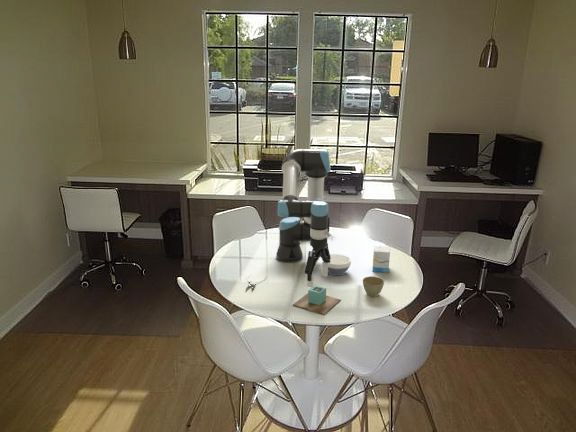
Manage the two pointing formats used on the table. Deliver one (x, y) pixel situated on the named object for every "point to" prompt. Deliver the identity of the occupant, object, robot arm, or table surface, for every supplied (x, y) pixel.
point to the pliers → (251, 286)
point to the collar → (317, 295)
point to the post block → (319, 309)
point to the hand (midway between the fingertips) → (317, 281)
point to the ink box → (381, 259)
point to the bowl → (338, 264)
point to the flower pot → (373, 285)
